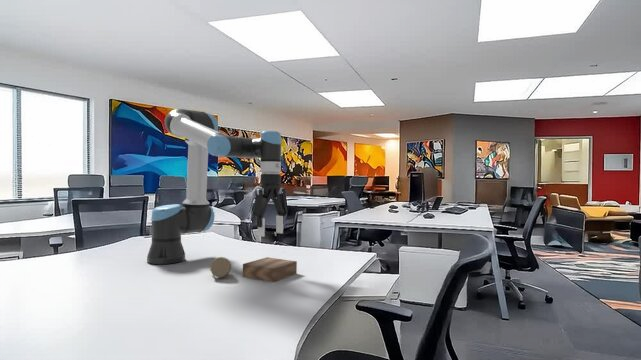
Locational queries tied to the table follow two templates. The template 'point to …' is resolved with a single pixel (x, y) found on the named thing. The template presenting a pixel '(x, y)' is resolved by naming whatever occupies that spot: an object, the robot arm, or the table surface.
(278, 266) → the riser block
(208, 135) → the robot arm
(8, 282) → the table surface
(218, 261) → the brown round piece
